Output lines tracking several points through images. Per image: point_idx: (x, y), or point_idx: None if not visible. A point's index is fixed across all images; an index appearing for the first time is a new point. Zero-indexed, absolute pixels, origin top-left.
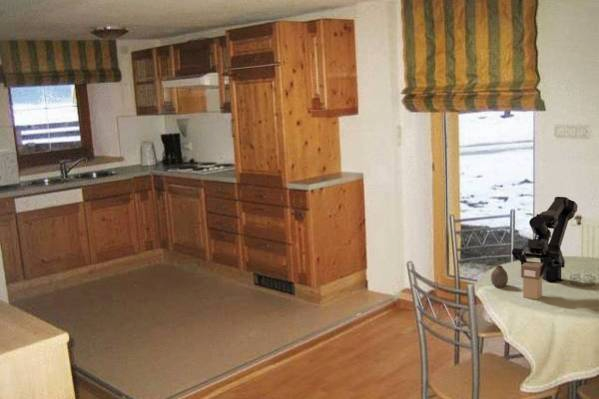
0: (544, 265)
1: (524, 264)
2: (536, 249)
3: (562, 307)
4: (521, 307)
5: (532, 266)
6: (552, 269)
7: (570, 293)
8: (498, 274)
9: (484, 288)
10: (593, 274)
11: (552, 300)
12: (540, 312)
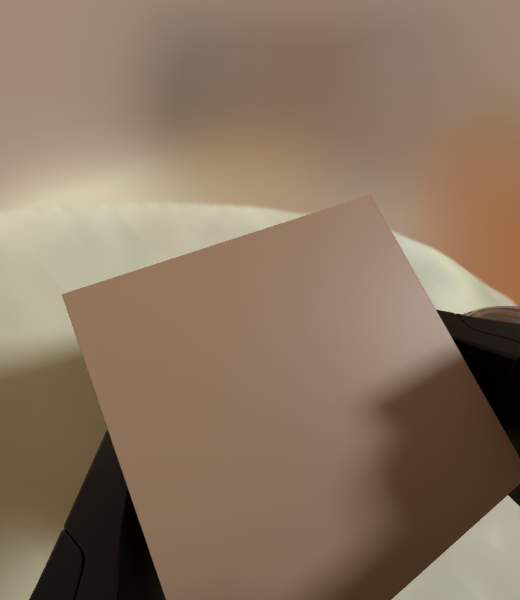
0: (74, 577)
1: (382, 266)
2: None
3: None
4: (149, 202)
5: (210, 270)
6: None
7: None
8: (508, 318)
9: (450, 277)
10: None
11: (96, 430)
12: (19, 211)
